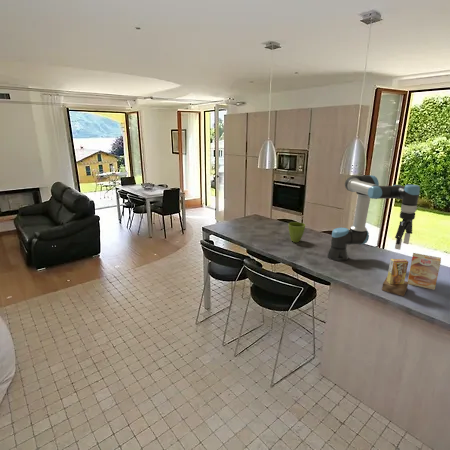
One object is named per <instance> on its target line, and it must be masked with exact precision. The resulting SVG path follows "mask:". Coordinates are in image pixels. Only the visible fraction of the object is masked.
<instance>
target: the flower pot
mask: <svg viewBox="0 0 450 450" xmlns="http://www.w3.org/2000/svg"><path fill="white" fill-rule="evenodd" d="M287 224H288V225H287V226H288V232H289V238H290V240H291V242H292V241H293V242H292V243H300V242H301V240H302V238H303V235H304V233H305V228H306V223H303V222H298V221H291V222H288V223H287ZM299 241H300V242H299Z"/></svg>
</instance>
